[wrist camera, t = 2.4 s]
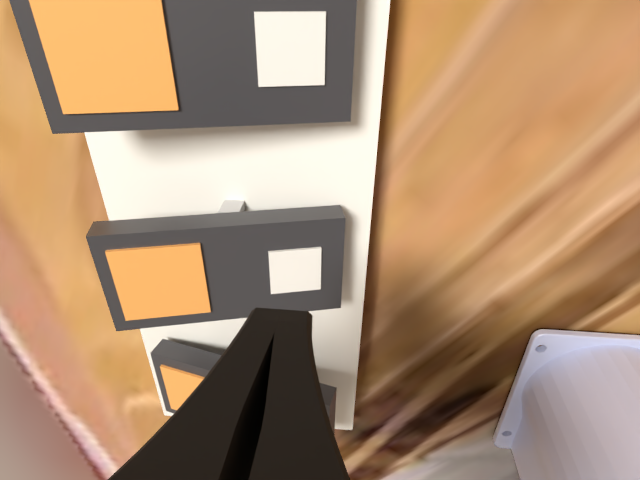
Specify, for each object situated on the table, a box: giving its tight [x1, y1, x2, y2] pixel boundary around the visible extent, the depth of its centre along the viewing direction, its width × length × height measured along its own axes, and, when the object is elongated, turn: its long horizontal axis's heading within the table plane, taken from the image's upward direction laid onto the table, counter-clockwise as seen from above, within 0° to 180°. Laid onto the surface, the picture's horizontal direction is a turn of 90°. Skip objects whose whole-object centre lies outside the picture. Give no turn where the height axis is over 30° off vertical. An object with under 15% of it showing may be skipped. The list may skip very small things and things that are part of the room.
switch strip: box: [84, 0, 390, 430], centre depth 19 cm, size 25×11×2 cm, turn 179°
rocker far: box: [150, 339, 337, 433], centre depth 22 cm, size 4×9×1 cm, turn 89°
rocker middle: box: [86, 205, 346, 331], centre depth 17 cm, size 4×9×1 cm, turn 89°
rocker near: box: [10, 0, 357, 134], centre depth 13 cm, size 4×9×1 cm, turn 89°
